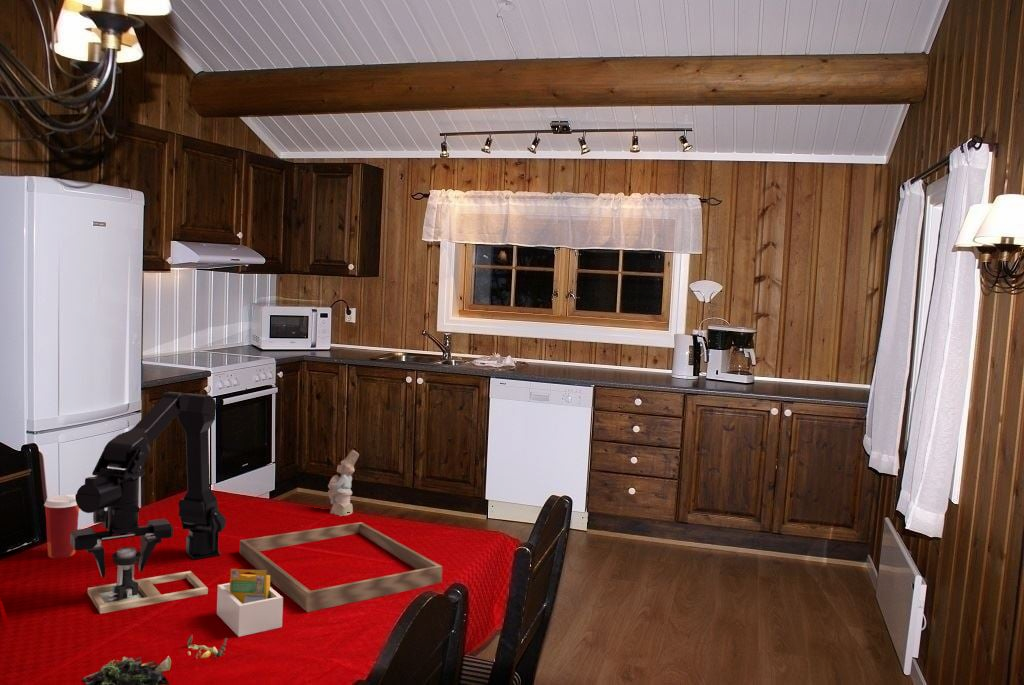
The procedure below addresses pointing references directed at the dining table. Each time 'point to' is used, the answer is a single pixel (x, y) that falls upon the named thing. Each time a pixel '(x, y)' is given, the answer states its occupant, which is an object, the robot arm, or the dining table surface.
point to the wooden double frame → (145, 593)
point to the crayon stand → (249, 612)
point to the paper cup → (61, 524)
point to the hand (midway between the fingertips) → (122, 574)
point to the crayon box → (249, 585)
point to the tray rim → (344, 593)
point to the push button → (125, 573)
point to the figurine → (342, 486)
